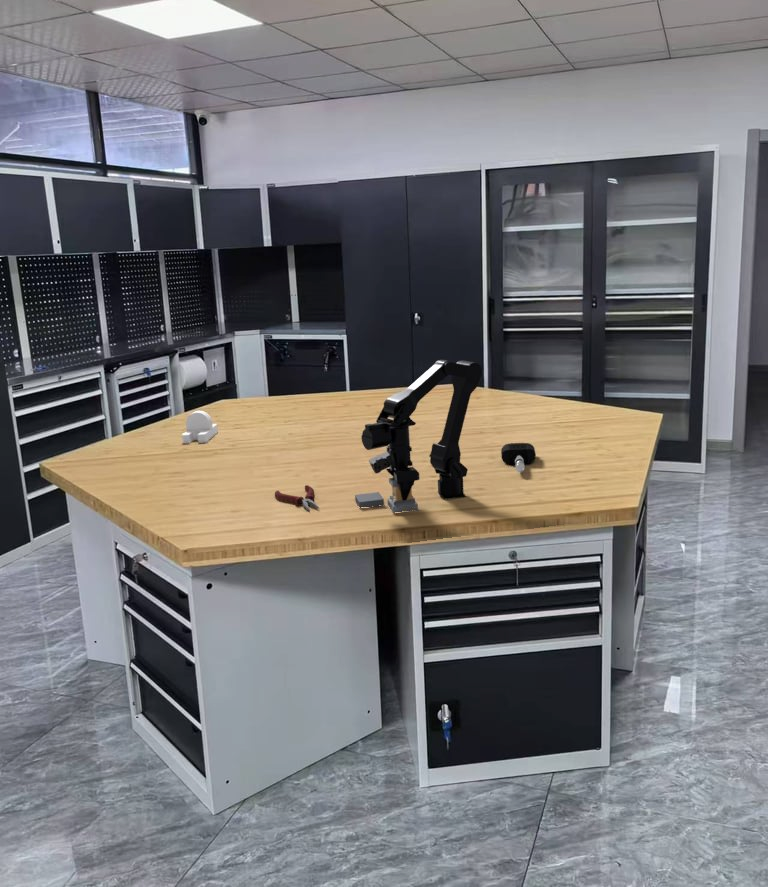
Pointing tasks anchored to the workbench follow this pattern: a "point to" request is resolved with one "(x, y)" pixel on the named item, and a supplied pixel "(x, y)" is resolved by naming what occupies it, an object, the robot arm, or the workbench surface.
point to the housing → (399, 494)
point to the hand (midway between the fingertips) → (402, 497)
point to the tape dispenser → (199, 428)
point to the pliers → (299, 498)
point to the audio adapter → (518, 455)
